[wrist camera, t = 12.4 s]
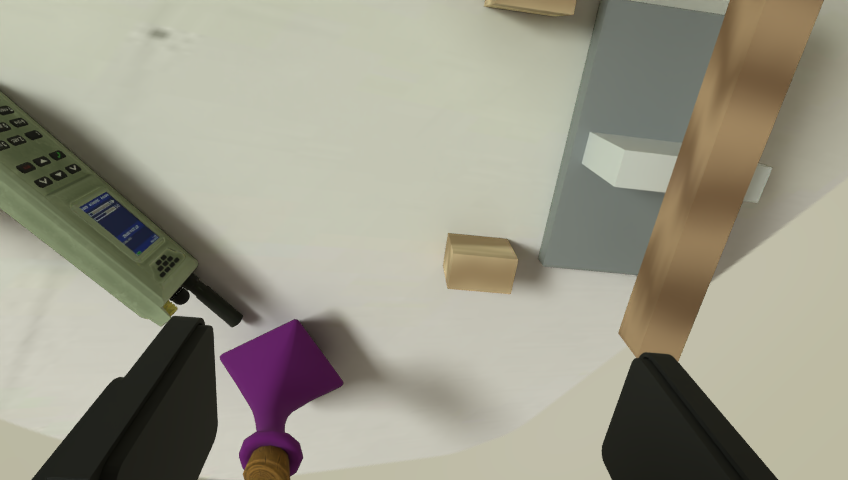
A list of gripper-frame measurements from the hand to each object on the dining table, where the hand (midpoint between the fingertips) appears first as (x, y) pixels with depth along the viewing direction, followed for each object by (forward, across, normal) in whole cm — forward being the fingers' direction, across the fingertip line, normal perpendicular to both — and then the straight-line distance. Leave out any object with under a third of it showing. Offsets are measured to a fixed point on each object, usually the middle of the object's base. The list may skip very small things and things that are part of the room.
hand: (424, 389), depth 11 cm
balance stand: (+28, -18, -1) cm, 34 cm away
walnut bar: (+21, -18, -1) cm, 28 cm away
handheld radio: (+29, +21, +8) cm, 37 cm away
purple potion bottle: (+28, +8, +20) cm, 36 cm away
